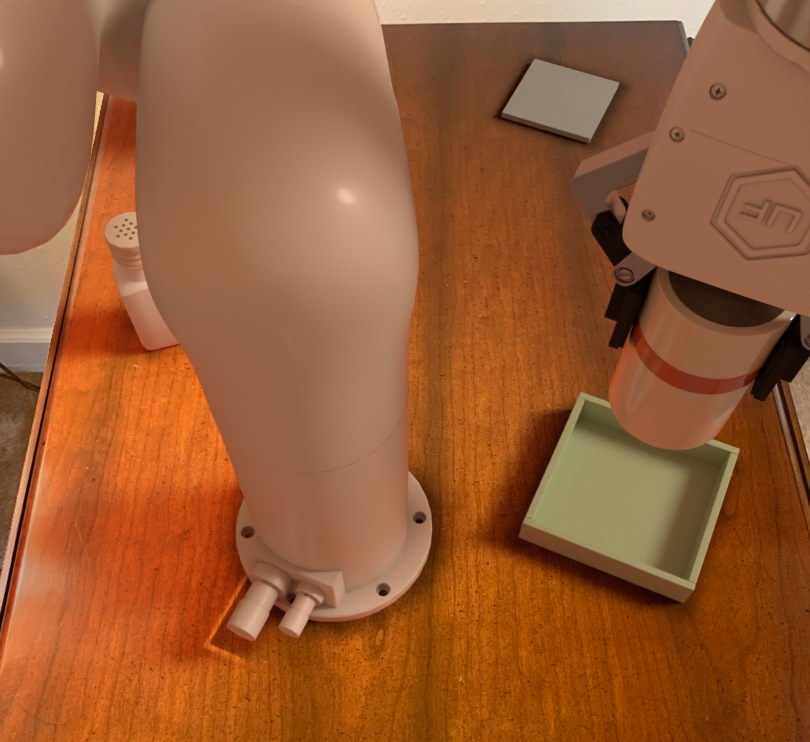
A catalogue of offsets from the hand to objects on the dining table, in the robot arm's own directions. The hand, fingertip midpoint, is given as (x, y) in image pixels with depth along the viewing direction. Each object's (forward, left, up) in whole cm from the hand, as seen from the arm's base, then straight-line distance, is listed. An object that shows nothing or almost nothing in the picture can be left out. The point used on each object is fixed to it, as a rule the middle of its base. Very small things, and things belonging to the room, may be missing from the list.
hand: (693, 351), depth 40 cm
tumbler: (0, 0, -4) cm, 4 cm away
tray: (0, 0, -16) cm, 16 cm away
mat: (+36, +17, -16) cm, 43 cm away
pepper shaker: (0, +35, -16) cm, 38 cm away
